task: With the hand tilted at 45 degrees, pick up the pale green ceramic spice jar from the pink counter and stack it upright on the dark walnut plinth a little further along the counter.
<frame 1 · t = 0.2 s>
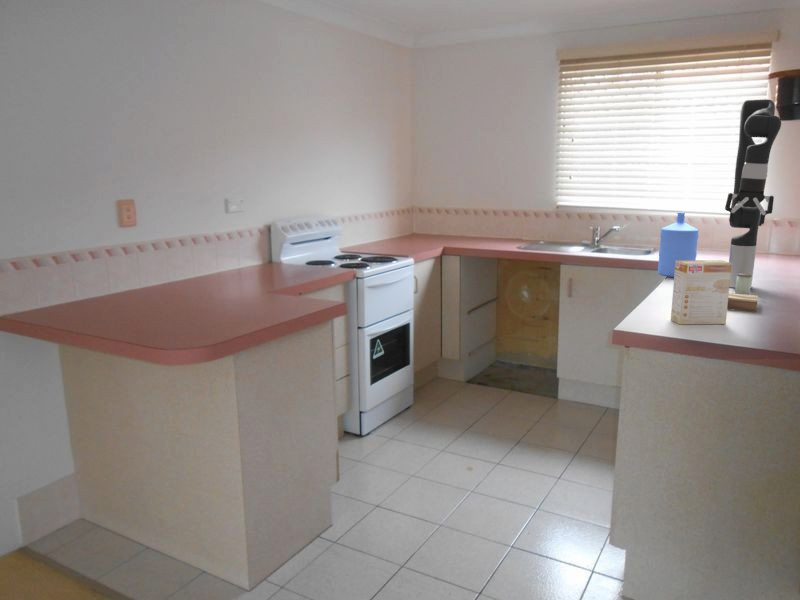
hand: (745, 224, 226), 29 cm above the table, tool pointing down, fingers open, 8 cm apart
water jug: (675, 275, 299), on the table
coffeecake box: (697, 322, 209), on the table
spice jar: (741, 300, 243), on the table
walnut plinth: (740, 307, 230), on the table
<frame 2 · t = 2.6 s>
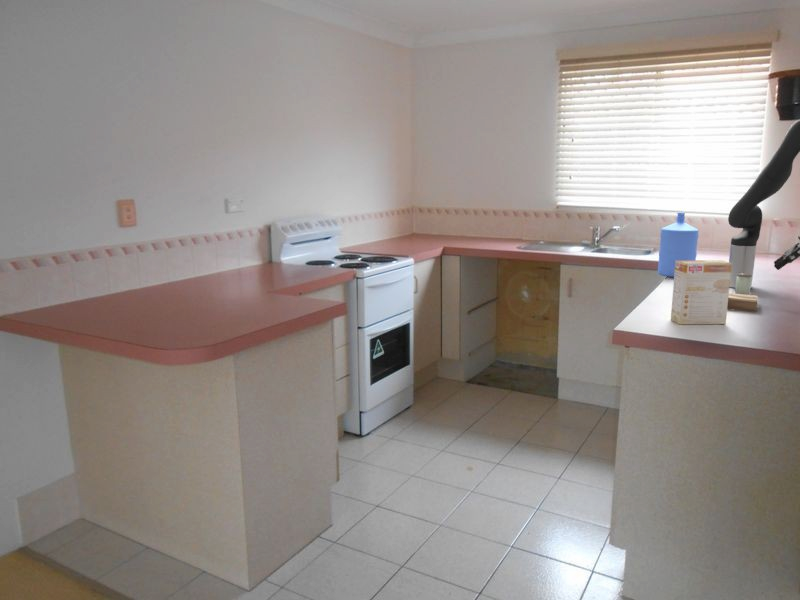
hand: (775, 266, 235), 14 cm above the table, tool tilted 45°, fingers open, 8 cm apart
nothing on the table moved.
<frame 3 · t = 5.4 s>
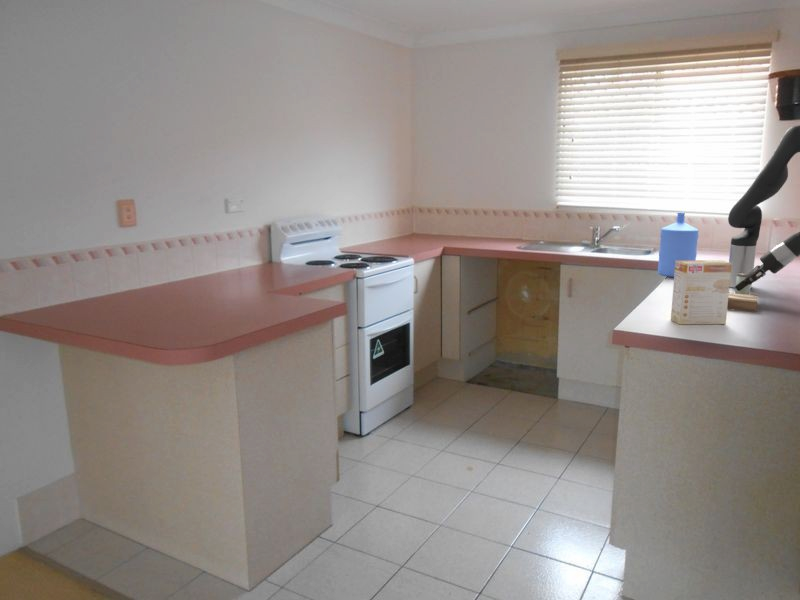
hand: (737, 287, 242), 5 cm above the table, tool tilted 45°, fingers closed on spice jar, 4 cm apart
spice jar: (741, 300, 242), on the table, touching gripper
everything else where it was.
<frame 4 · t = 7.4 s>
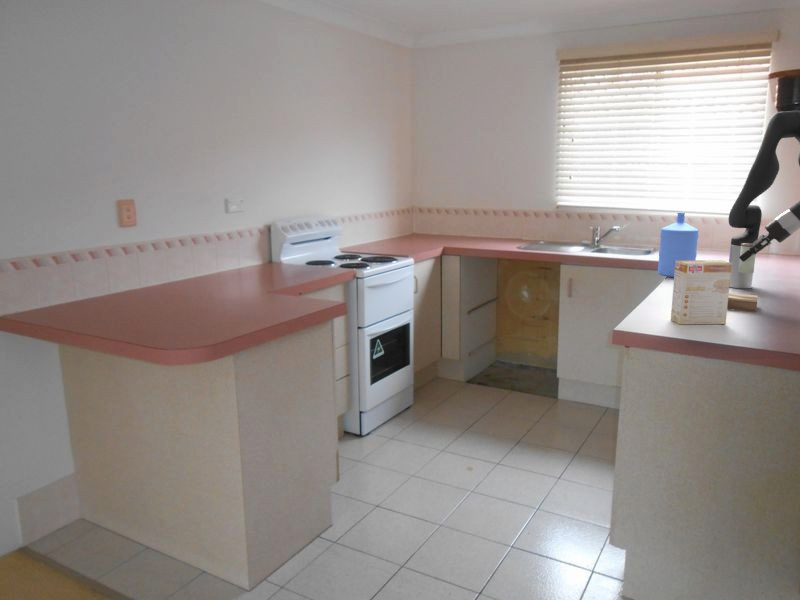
hand: (741, 258, 233), 16 cm above the table, tool tilted 45°, fingers closed on spice jar, 4 cm apart
spice jar: (746, 272, 233), point 12 cm above the table, touching gripper
everything else where it was.
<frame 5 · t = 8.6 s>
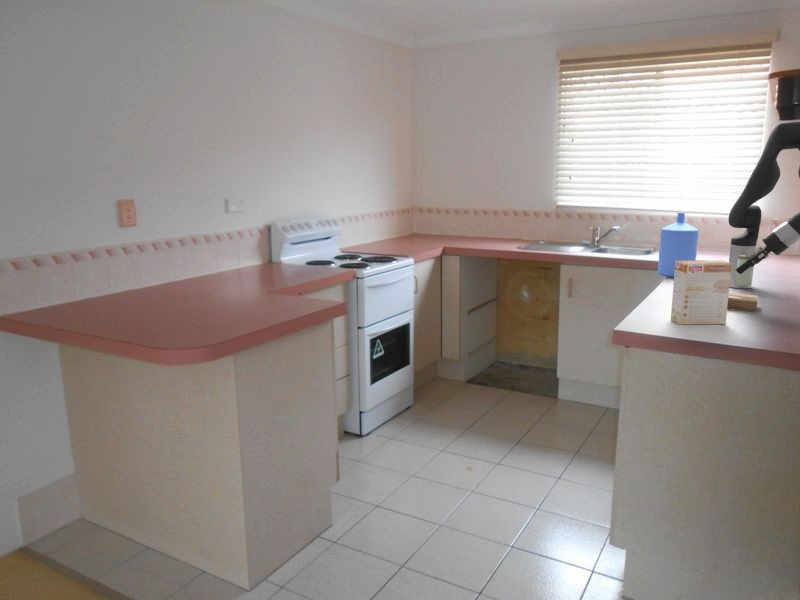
hand: (738, 270, 229), 13 cm above the table, tool tilted 45°, fingers closed on spice jar, 4 cm apart
spice jar: (742, 284, 229), point 8 cm above the table, touching gripper
everything else where it was.
when the fingers open (10 cm above the table, at t = 9.5 s): spice jar drops 1 cm, resting on walnut plinth.
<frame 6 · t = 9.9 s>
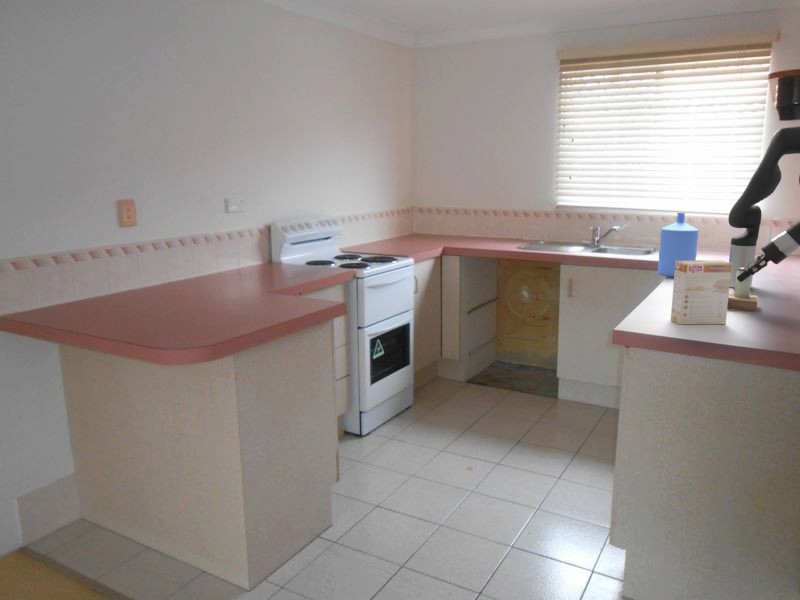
hand: (738, 278, 229), 10 cm above the table, tool tilted 45°, fingers open, 8 cm apart
spice jar: (741, 296, 230), point 4 cm above the table, touching walnut plinth
everything else where it was.
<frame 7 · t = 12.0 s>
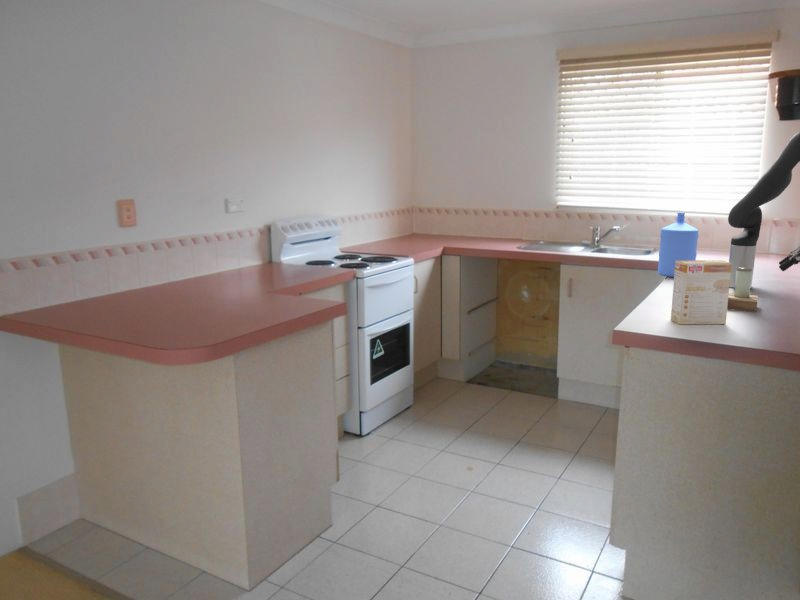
hand: (780, 267, 224), 15 cm above the table, tool tilted 45°, fingers open, 8 cm apart
nothing on the table moved.
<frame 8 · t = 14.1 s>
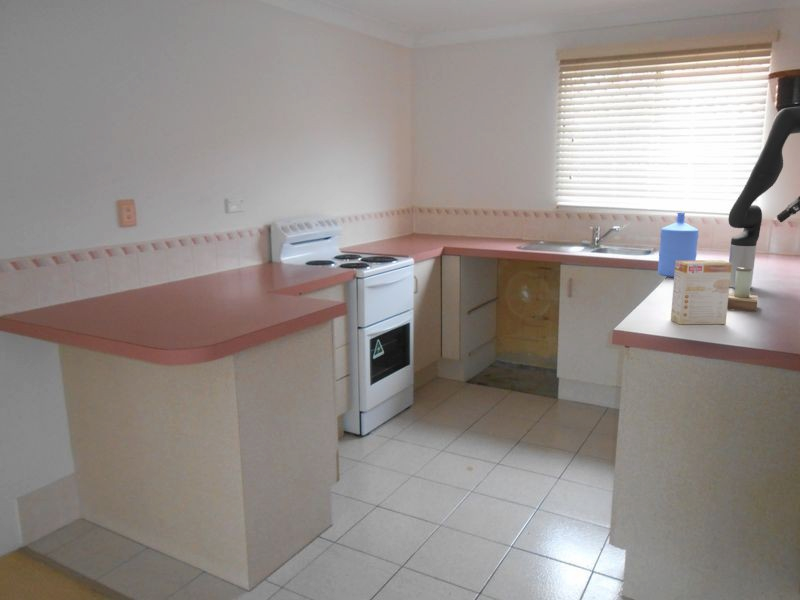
hand: (778, 219, 226), 31 cm above the table, tool tilted 45°, fingers open, 8 cm apart
nothing on the table moved.
at the end: spice jar inside the target area on the walnut plinth (0.1 cm from its centre), point 4.1 cm above the walnut plinth's base; spice jar tilted 2°; the gripper is holding nothing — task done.
